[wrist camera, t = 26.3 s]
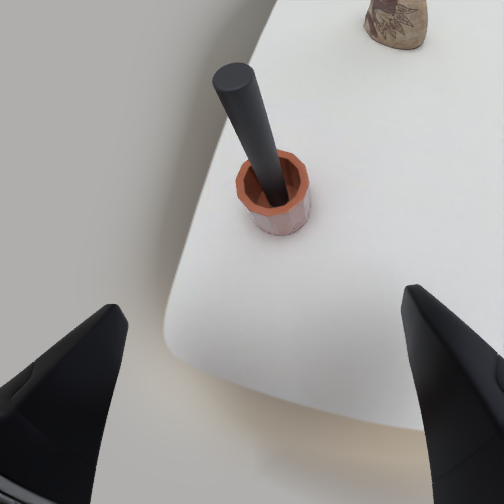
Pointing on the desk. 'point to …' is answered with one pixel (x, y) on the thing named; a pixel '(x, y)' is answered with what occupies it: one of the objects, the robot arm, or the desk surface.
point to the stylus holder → (280, 217)
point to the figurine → (397, 22)
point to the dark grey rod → (252, 127)
